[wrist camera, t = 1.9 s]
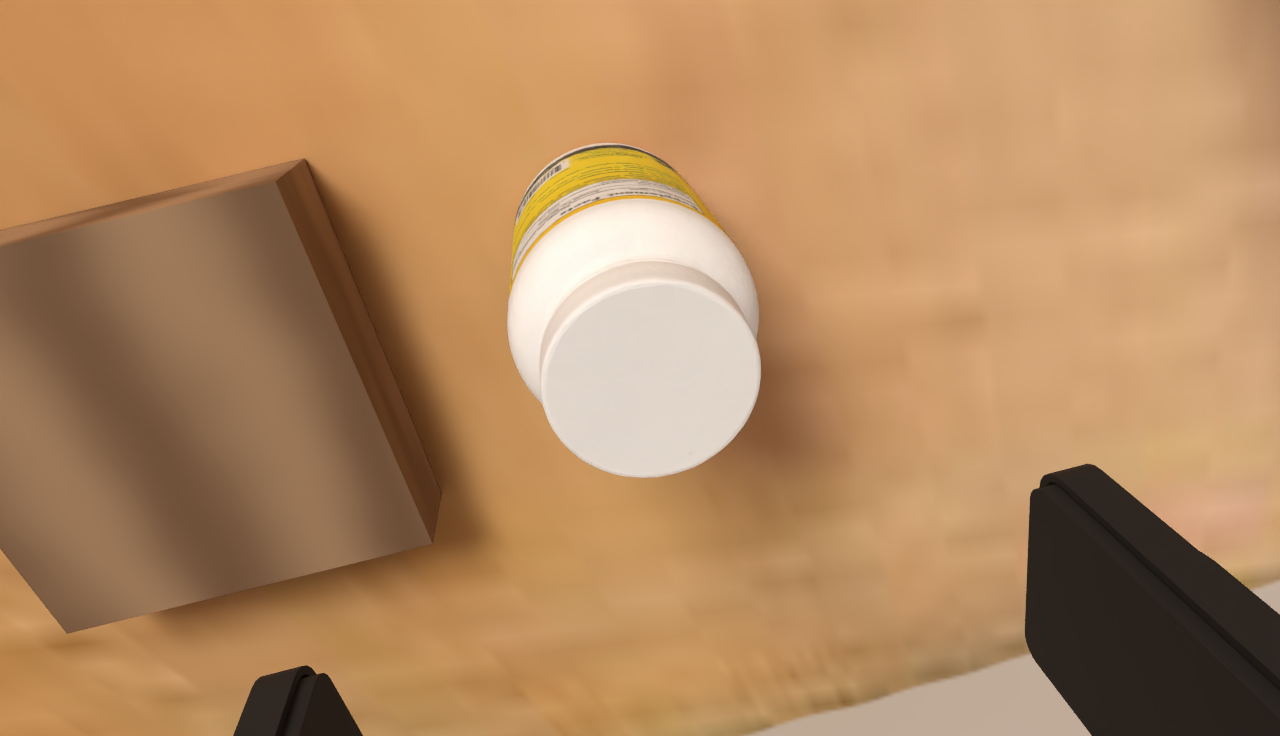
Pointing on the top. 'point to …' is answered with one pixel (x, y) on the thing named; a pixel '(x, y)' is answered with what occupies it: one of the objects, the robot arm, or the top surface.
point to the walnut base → (196, 402)
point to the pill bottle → (631, 313)
